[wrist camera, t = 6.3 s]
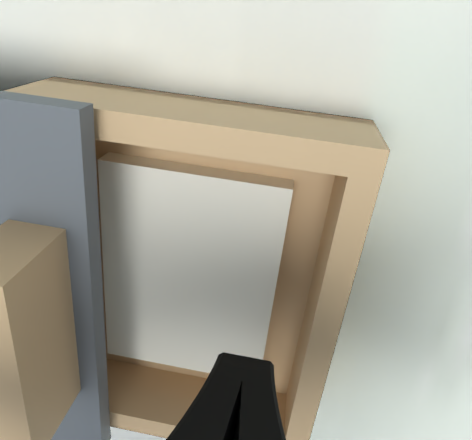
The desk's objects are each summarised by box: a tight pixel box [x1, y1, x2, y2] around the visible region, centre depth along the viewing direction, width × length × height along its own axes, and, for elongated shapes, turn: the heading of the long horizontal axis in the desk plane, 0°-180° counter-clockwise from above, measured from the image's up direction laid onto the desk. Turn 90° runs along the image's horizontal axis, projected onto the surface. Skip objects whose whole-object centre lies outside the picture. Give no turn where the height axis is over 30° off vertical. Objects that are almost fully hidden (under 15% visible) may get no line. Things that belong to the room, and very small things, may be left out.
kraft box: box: [4, 77, 390, 440], centre depth 14 cm, size 12×10×3 cm
